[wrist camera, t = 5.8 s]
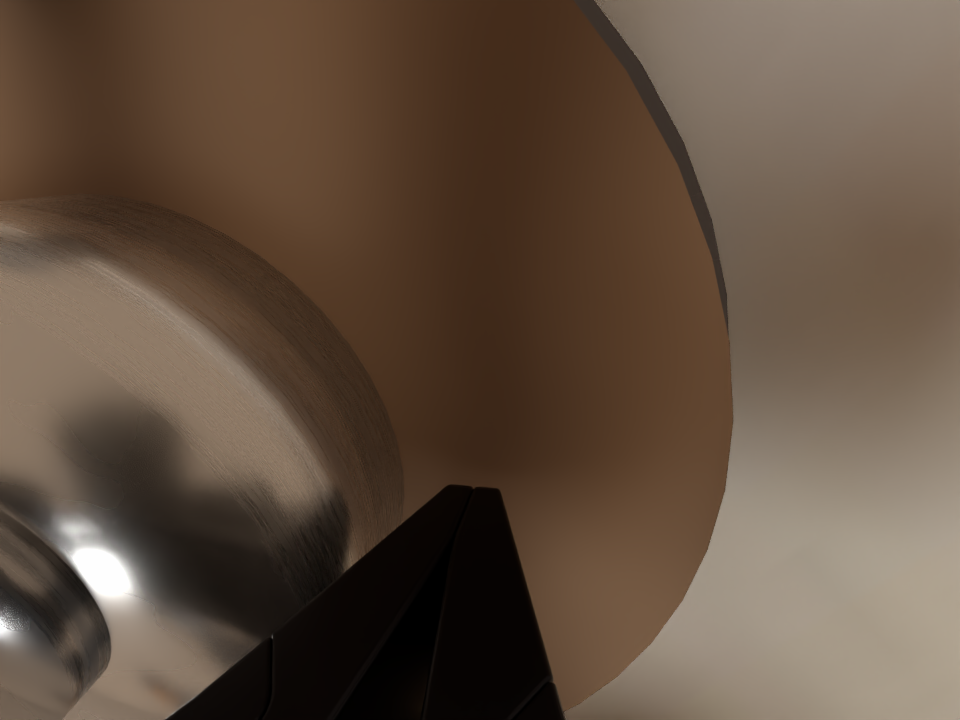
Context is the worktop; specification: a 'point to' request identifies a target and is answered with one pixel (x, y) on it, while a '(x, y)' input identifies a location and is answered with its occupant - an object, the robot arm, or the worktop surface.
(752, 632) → the worktop surface
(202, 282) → the cover
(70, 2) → the turntable
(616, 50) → the turntable stand
